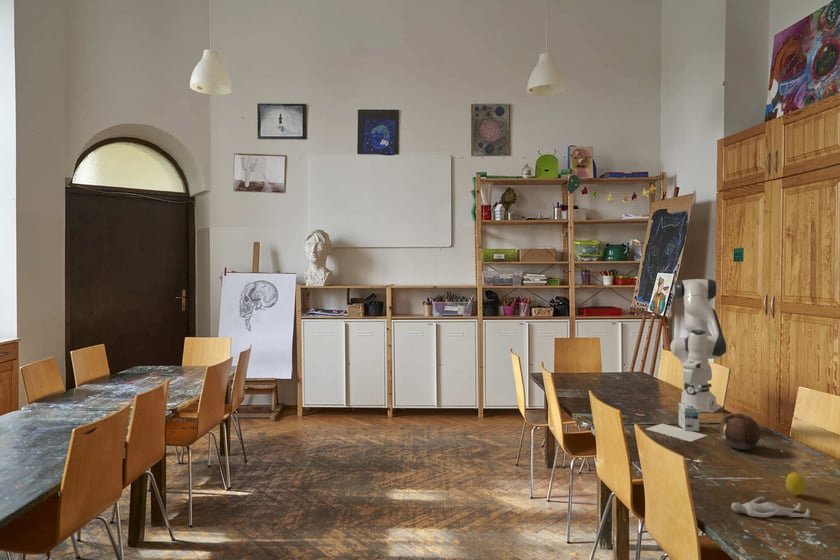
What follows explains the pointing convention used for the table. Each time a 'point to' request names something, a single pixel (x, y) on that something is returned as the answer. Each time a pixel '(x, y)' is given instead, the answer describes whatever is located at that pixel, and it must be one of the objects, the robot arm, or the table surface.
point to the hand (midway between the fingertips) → (698, 391)
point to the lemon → (795, 483)
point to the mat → (676, 432)
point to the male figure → (767, 509)
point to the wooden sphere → (739, 431)
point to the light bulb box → (689, 417)
